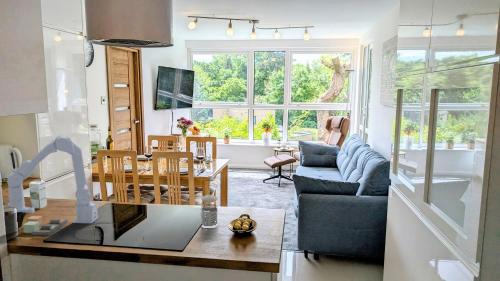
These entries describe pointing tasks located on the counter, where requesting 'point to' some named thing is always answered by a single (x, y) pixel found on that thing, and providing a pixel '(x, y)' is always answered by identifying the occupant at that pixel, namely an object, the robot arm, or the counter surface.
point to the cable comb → (50, 227)
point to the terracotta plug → (35, 219)
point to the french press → (209, 209)
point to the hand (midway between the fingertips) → (18, 227)
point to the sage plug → (31, 227)
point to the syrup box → (38, 194)
